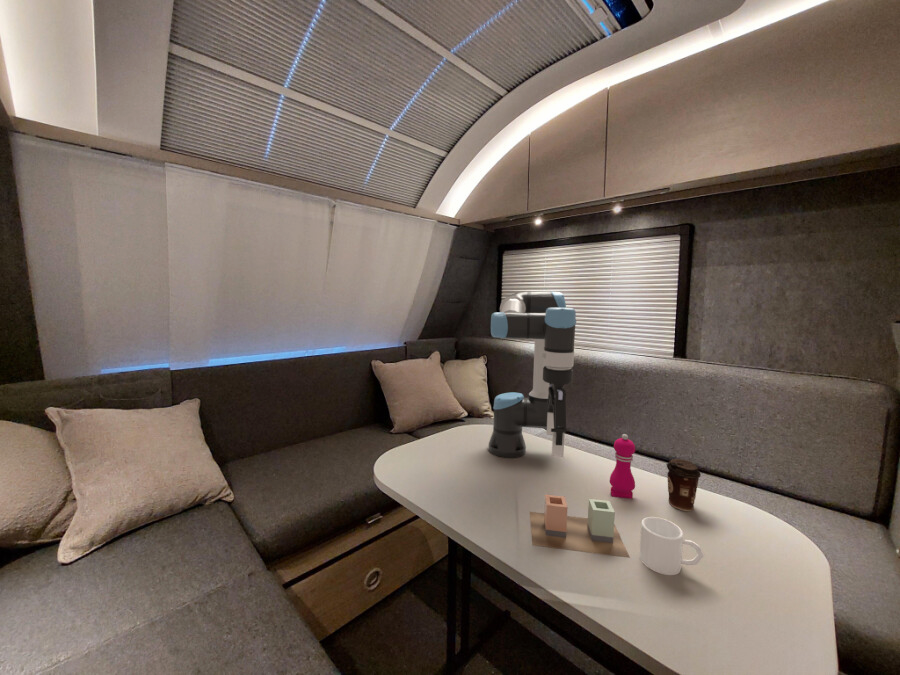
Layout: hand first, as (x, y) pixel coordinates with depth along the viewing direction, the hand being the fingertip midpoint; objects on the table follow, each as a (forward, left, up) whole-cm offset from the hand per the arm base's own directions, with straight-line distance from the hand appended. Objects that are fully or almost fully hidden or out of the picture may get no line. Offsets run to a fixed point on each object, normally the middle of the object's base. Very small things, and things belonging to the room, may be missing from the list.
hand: (554, 444), depth 95 cm
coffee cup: (-17, +39, -22) cm, 48 cm away
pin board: (+5, +5, -22) cm, 23 cm away
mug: (+13, +24, -22) cm, 36 cm away
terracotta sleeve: (+6, 0, -21) cm, 21 cm away
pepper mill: (-19, +23, -22) cm, 37 cm away
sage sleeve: (+5, +11, -21) cm, 24 cm away
